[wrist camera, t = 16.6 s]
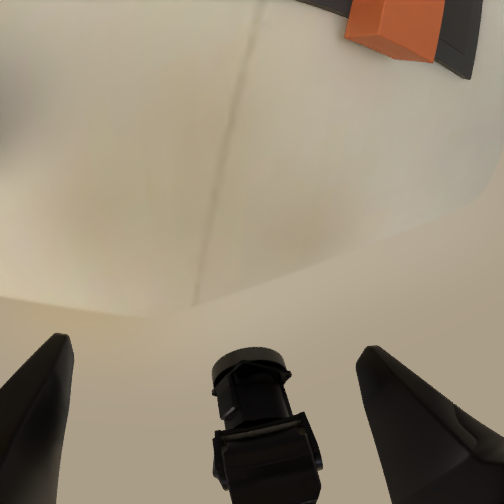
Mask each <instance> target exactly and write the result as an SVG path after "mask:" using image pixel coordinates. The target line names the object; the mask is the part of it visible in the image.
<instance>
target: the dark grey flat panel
mask: <svg viewBox="0 0 504 504" xmlns="http://www.w3.org/2000/svg"><path fill="white" fill-rule="evenodd" d="M297 1H300V2H303V3H307V4H310V5H313V6H316V7H319V8H322V9H325V10H328V11H331V12H333V13H336V14H339V15H341V16H344V17H347V18H349V14H350V10H351V6H352V1H353V0H297ZM482 2H483V0H445V4H444V11H443V17H442V23H441V28H440V34H439V39H438V44H437V49H436V53H435V58H434V60H435V61H436V62H438V63H440V64H441V65H443V66H445V67H446V68H448V69H449V70H451V71H453V72H454V73H456V74H457V75H459V76H460V77H462V78H463V79H468V80H470V79H471V75H472V70H473V65H474V60H475V54H476V48H477V42H478V36H479V29H480V21H481V13H482Z"/></svg>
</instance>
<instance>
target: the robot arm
mask: <svg viewBox="0 0 504 504" xmlns="http://www.w3.org/2000/svg"><path fill="white" fill-rule="evenodd" d="M73 365H74V353H73V349H72V345H71V341H70V337H69V336H68V335H67V334H62V333H54V334H53V335H52V336H51V337H50V338H49V339H48V340H47V341H46V342H45V343H44V344H43V345H42V346H41V347H40V348H39V349H38V350H37V351H36V352H35V353H34V354H33V355H32V356H31V357H30V358H29V359H28V360H27V361H26V362H25V363H24V364H23V365H22V366H21V367H20V368H19V369H18V370H17V371H16V372H15V374H14V375H13V376H12V377H11V378H10V379H9V380H8V381H7V382H6V383H5V384H4V385H3V386H2V388H1V389H0V504H56V497H57V486H58V477H59V468H60V459H61V453H62V446H63V440H64V434H65V428H66V422H67V417H68V411H69V404H70V393H71V383H72V373H73ZM356 372H357V376H358V381H359V386H360V390H361V395H362V400H363V404H364V408H365V411H366V415H367V418H368V421H369V425H370V428H371V431H372V434H373V437H374V441H375V444H376V448H377V451H378V454H379V458H380V461H381V465H382V468H383V472H384V475H385V479H386V483H387V486H388V490H389V494H390V498H391V502H392V504H504V437H502V436H500V435H499V434H497V433H496V432H494V431H493V430H491V429H490V428H488V427H486V426H485V425H483V424H481V423H480V422H479V421H477V420H476V419H474V418H473V417H471V416H470V415H469V414H467V413H466V412H464V411H463V410H461V409H460V408H459V407H458V406H457V405H455V404H453V402H451V401H450V400H449V399H447V398H446V397H445V396H443V395H442V394H441V393H439V392H438V391H437V390H436V389H434V388H433V387H432V386H431V385H429V384H428V383H427V382H425V381H424V380H423V379H421V378H420V377H419V376H417V375H416V374H415V373H414V372H412V371H411V370H410V369H408V368H407V367H406V366H404V365H403V364H402V363H400V362H399V361H398V360H397V359H395V358H394V357H392V356H391V355H390V354H389V353H387V352H386V351H385V350H383V349H382V348H381V347H379V346H377V345H375V346H367V347H366V348H365V349H364V351H363V353H362V354H361V356H360V357H359V359H358V361H357V363H356ZM291 376H292V374H291V371H288V370H284V369H280V368H276V367H272V366H268V365H264V364H260V363H256V362H252V361H248V360H241V361H239V362H238V363H237V364H236V365H235V366H234V368H233V369H232V370H231V371H230V372H229V373H228V374H227V375H226V376H225V377H224V378H223V379H222V380H221V381H220V382H219V383H218V384H217V386H216V387H215V388H214V389H213V390H212V395H213V396H216V397H217V399H218V407H219V414H220V418H221V420H224V422H225V429H226V430H223V431H221V430H217V431H215V438H213V439H212V440H213V447H214V462H213V476H214V477H215V478H217V479H218V480H219V481H220V483H221V485H222V487H223V489H224V490H225V491H227V490H229V492H230V496H231V500H232V504H316V502H317V499H318V497H319V493H320V490H321V483H320V479H319V475H318V472H317V471H319V470H322V469H323V464H322V458H321V454H320V450H319V447H318V444H317V441H316V439H315V437H314V434H313V432H312V429H311V427H310V424H309V422H308V420H307V417H306V415H305V412H301V413H299V414H297V415H293V414H292V411H291V407H290V404H289V401H288V398H287V394H286V391H285V388H284V383H285V382H286V381H287V380H288V379H289V378H291Z"/></svg>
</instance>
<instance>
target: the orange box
mask: <svg viewBox="0 0 504 504" xmlns="http://www.w3.org/2000/svg"><path fill="white" fill-rule="evenodd" d="M444 4H445V0H353V1H352V6H351V10H350V14H349V19H348V23H347V27H346V32H345V36H344V38H346V39H348V40H351V41H354V42H356V43H359V44H361V45H364V46H366V47H369V48H371V49H373V50H376V51H378V52H380V53H382V54H385V55H387V56H389V57H391V58H393V59H398V60H410V61H419V62H428V63H433V62H434V58H435V53H436V49H437V44H438V39H439V34H440V28H441V23H442V17H443V11H444Z"/></svg>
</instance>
